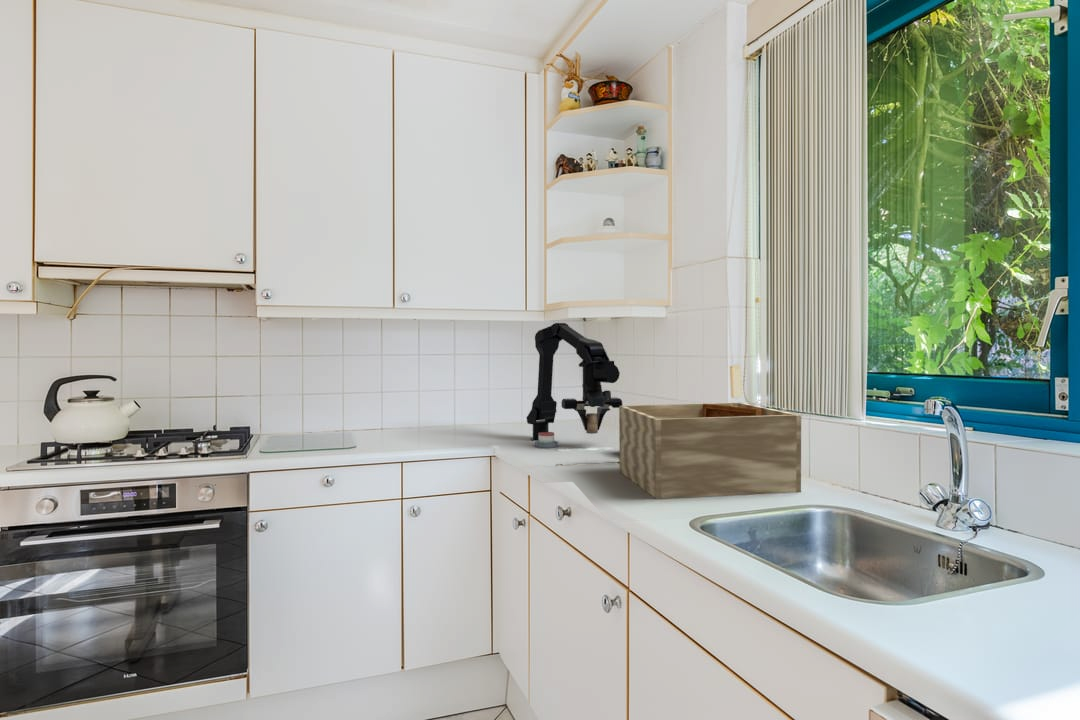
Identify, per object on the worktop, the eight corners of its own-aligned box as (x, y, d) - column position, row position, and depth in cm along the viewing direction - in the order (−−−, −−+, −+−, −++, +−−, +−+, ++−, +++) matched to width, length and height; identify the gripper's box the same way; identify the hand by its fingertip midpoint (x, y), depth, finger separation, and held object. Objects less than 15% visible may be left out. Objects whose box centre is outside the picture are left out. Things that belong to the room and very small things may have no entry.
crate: (619, 471, 166) (619, 405, 166) (741, 466, 172) (741, 402, 171) (656, 499, 137) (655, 419, 137) (800, 491, 143) (801, 415, 142)
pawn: (585, 432, 195) (585, 413, 195) (596, 431, 196) (596, 413, 196) (587, 433, 192) (587, 414, 192) (598, 433, 192) (598, 414, 192)
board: (532, 448, 203) (532, 440, 203) (602, 445, 207) (602, 438, 207) (539, 456, 189) (539, 448, 188) (614, 453, 192) (614, 445, 192)
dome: (537, 441, 202) (537, 432, 202) (552, 440, 203) (552, 431, 203) (539, 443, 197) (539, 434, 197) (555, 443, 198) (555, 434, 198)
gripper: (567, 383, 184) (568, 435, 185) (627, 382, 187) (627, 433, 187) (561, 381, 195) (561, 429, 196) (617, 380, 198) (617, 427, 198)
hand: (591, 430), depth 194 cm, fingers closed on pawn, 4 cm apart
